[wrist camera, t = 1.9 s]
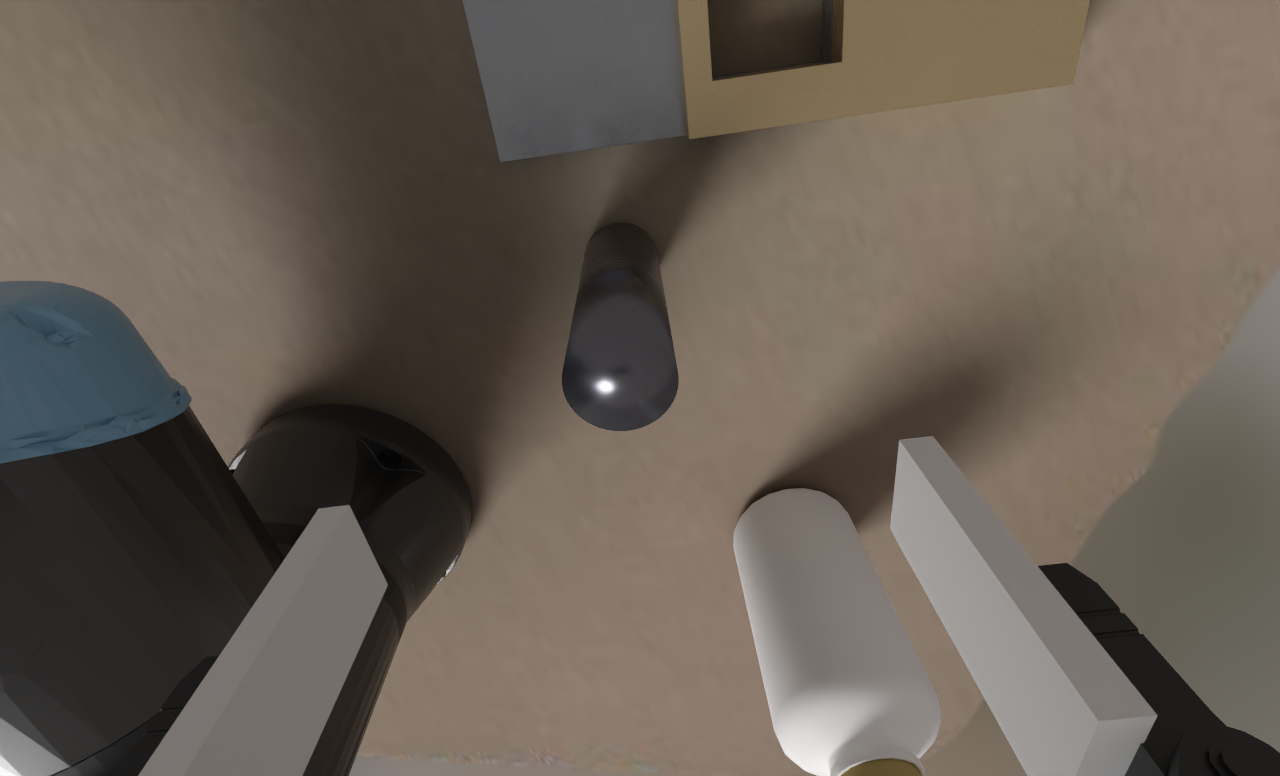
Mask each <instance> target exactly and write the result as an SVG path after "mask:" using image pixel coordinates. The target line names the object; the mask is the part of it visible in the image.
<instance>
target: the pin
mask: <svg viewBox="0 0 1280 776" xmlns="http://www.w3.org/2000/svg"><path fill="white" fill-rule="evenodd" d="M562 386H563V391H564V395H565V397H566V399H567V402H568V403H569V405H570V406H571V408H572V409H573V410H574V411H575V412H576V414H578V415H579V416H580V417H581V418H582V419H584V420H585V421H587V422H588V423H590V424H592V425H594V426H597V427H599V428H603V429H607V430H613V431H628V430H634V429H638V428H641V427H644V426H646V425H649V424H650V423H652V422H654V421H656V420H657V419H658V418H660V417H661V416H662V415H663V414H664V413H665V412H666V411H667V410H668V408H669V407H670V406H671V404H672V402H673V401H674V398H675V396H676V393H677V389H678V371H677V365H676V359H675V353H674V348H673V342H672V336H671V330H670V324H669V318H668V313H667V307H666V301H665V295H664V289H663V284H662V278H661V272H660V266H659V260H658V255H657V250H656V247H655V244H654V242H653V240H652V239H651V237H650V236H649V235H648V234H647V233H646V232H645V231H644V230H642V229H641V228H639V227H637V226H635V225H632V224H627V223H615V224H610V225H607V226H605V227H603V228H601V229H600V230H599V231H597V232H596V233H595V234H594V235H593V237H592V238H591V239H590V241H589V243H588V245H587V248H586V252H585V257H584V262H583V268H582V273H581V278H580V283H579V288H578V294H577V299H576V304H575V309H574V315H573V320H572V325H571V330H570V336H569V341H568V346H567V351H566V357H565V362H564V367H563V373H562Z"/></svg>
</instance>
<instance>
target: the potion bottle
mask: <svg viewBox="0 0 1280 776" xmlns="http://www.w3.org/2000/svg"><path fill="white" fill-rule="evenodd" d="M733 548H734V552H735V557H736V561H737V566H738V570H739V574H740V579H741V583H742V588H743V592H744V597H745V601H746V606H747V610H748V615H749V619H750V624H751V628H752V633H753V637H754V642H755V646H756V651H757V655H758V660H759V664H760V669H761V673H762V678H763V682H764V687H765V691H766V695H767V700H768V704H769V709H770V713H771V718H772V722H773V727H774V731H775V733H776V736H777V738H778V740H779V742H780V744H781V746H782V749H783V751H784V753H785V755H787V756H788V757H789V758H790V759H791V760H792V761H793V762H795V763H796V764H797V765H798V766H800V767H801V768H802V769H803V770H805V771H807V772H809V773H812V774H815V775H817V776H925V772H924V768H923V766H922V764H921V762H920V761H919V758H920V757H921V756H922V755H923V754H924V753H925V752H926V751H927V750H928V749H929V747H930V746H931V745H932V744H933V743H934V742H935V739H936V736H937V733H938V730H939V727H940V723H941V719H942V716H941V711H940V707H939V702H938V698H937V694H936V691H935V689H934V687H933V685H932V683H931V681H930V679H929V677H928V675H927V673H926V671H925V669H924V667H923V665H922V663H921V661H920V659H919V657H918V655H917V653H916V650H915V648H914V646H913V644H912V642H911V640H910V638H909V636H908V634H907V632H906V630H905V628H904V626H903V624H902V622H901V620H900V618H899V616H898V614H897V612H896V610H895V608H894V606H893V604H892V602H891V600H890V598H889V595H888V593H887V591H886V589H885V587H884V585H883V583H882V581H881V579H880V577H879V575H878V573H877V571H876V569H875V567H874V565H873V563H872V561H871V559H870V557H869V555H868V553H867V551H866V549H865V547H864V545H863V543H862V541H861V538H860V536H859V534H858V532H857V530H856V528H855V526H854V524H853V522H852V520H851V518H850V516H849V514H848V513H847V511H846V510H845V509H844V508H843V507H842V505H841V504H840V503H839V502H838V501H837V500H836V499H834V498H832V497H830V496H829V495H827V494H825V493H823V492H821V491H816V490H811V489H806V488H795V489H784V490H781V491H777V492H774V493H771V494H768V495H766V496H764V497H763V498H761V499H759V500H758V501H756V502H754V503H753V504H752V505H751V506H750V507H749V508H748V509H747V510H746V511H745V512H744V513H743V514H742V515H741V517H740V519H739V521H738V523H737V525H736V527H735V530H734V543H733Z"/></svg>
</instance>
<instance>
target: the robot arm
mask: <svg viewBox="0 0 1280 776" xmlns="http://www.w3.org/2000/svg"><path fill="white" fill-rule="evenodd" d="M190 402H191V396H190V395H189V393H188V391H187V390H186V388H185V387H184V386H182V385H180V384H179V383H178V381H176V380H175V379H173V378H171V377H170V376H169V374H168V373H167V371H166V370H165V369H164V367H163V366H162V364H161V363H160V362H159V360H158V359H157V357H156V356H155V355H154V353H153V352H152V350H151V349H150V348H149V346H148V345H147V343H146V342H145V341H144V339H143V338H142V336H141V335H140V334H139V332H138V331H137V329H136V328H135V327H134V325H133V324H132V322H131V321H130V320H129V318H128V317H127V316H126V315H125V314H124V313H123V312H122V311H121V310H120V309H119V308H118V307H117V306H115V305H114V304H113V303H112V302H110V301H109V300H107V299H105V298H103V297H102V296H100V295H98V294H96V293H93V292H91V291H88V290H85V289H83V288H80V287H76V286H71V285H67V284H63V283H55V282H45V281H5V282H0V776H349V773H350V771H351V768H352V765H353V763H354V760H355V758H356V755H357V752H358V750H359V747H360V744H361V742H362V739H363V736H364V734H365V731H366V728H367V726H368V723H369V720H370V718H371V715H372V712H373V710H374V707H375V704H376V702H377V699H378V697H379V694H380V691H381V689H382V686H383V683H384V681H385V678H386V675H387V673H388V670H389V667H390V665H391V662H392V659H393V657H394V654H395V651H396V649H397V646H398V643H399V641H400V638H401V636H402V633H403V630H404V627H405V625H406V623H407V621H408V620H409V619H410V617H411V616H412V615H413V614H414V612H415V611H416V610H417V609H418V607H419V606H420V605H421V604H422V602H423V601H424V600H425V599H426V597H427V596H428V595H429V594H430V592H431V591H432V590H433V589H434V587H435V586H436V585H438V584H439V583H440V582H441V581H442V580H443V579H444V578H445V577H446V576H447V575H448V573H449V572H450V571H451V570H452V568H453V567H454V566H455V564H456V562H457V560H458V558H459V557H460V555H461V552H462V550H463V547H464V544H465V541H466V538H467V535H468V532H469V528H470V525H471V519H472V503H471V497H470V493H469V490H468V487H467V484H466V482H465V480H464V478H463V475H462V474H461V472H460V470H459V469H458V467H457V466H456V464H455V463H454V462H453V460H452V459H451V458H450V457H449V456H448V455H447V453H446V452H445V451H444V450H443V449H442V448H441V447H440V446H438V445H437V444H436V443H435V442H434V441H433V440H431V439H430V438H429V437H427V436H426V435H425V434H423V433H422V432H420V431H418V430H417V429H415V428H414V427H412V426H410V425H408V424H406V423H404V422H402V421H400V420H398V419H395V418H393V417H390V416H388V415H385V414H382V413H379V412H375V411H372V410H368V409H363V408H357V407H351V406H338V405H326V406H314V407H308V408H303V409H298V410H295V411H292V412H289V413H286V414H284V415H281V416H279V417H277V418H276V419H274V420H272V421H271V422H269V423H267V424H266V425H265V426H264V427H262V428H261V429H260V430H259V431H258V432H257V433H256V434H255V435H254V436H253V437H252V438H251V439H250V440H249V441H248V442H247V443H246V444H245V445H244V446H243V447H242V448H241V450H240V451H239V452H238V453H237V454H236V456H235V457H234V458H233V460H232V461H231V463H230V465H229V466H228V467H227V465H226V464H225V462H224V461H223V459H222V457H221V456H220V454H219V453H218V451H217V449H216V448H215V446H214V445H213V443H212V441H211V440H210V438H209V437H208V435H207V433H206V432H205V430H204V429H203V427H202V425H201V424H200V422H199V421H198V419H197V417H196V416H195V414H194V413H193V411H192V410H191V408H190V406H189V404H190ZM890 530H891V531H892V533H893V535H894V537H895V539H896V540H897V542H898V544H899V546H900V547H901V549H902V551H903V553H904V555H905V556H906V558H907V560H908V562H909V564H910V565H911V567H912V569H913V571H914V573H915V574H916V576H917V578H918V580H919V582H920V583H921V585H922V587H923V589H924V591H925V592H926V594H927V596H928V598H929V600H930V601H931V603H932V605H933V607H934V609H935V610H936V612H937V614H938V616H939V618H940V619H941V621H942V623H943V625H944V626H945V628H946V630H947V632H948V634H949V635H950V637H951V639H952V641H953V643H954V644H955V646H956V648H957V650H958V652H959V653H960V655H961V657H962V659H963V661H964V662H965V664H966V666H967V668H968V670H969V671H970V673H971V675H972V677H973V679H974V680H975V682H976V684H977V686H978V688H979V689H980V691H981V693H982V695H983V697H984V698H985V700H986V702H987V704H988V705H989V707H990V709H991V711H992V713H993V714H994V716H995V718H996V720H997V722H998V723H999V725H1000V727H1001V729H1002V730H1003V732H1004V734H1005V736H1006V738H1007V740H1008V741H1009V743H1010V745H1011V747H1012V749H1013V750H1014V752H1015V754H1016V756H1017V758H1018V759H1019V761H1020V763H1021V765H1022V766H1023V768H1024V770H1025V772H1026V774H1027V775H1028V776H1280V753H1279V752H1278V751H1276V750H1275V749H1274V748H1273V747H1271V746H1270V745H1268V744H1266V743H1265V742H1263V741H1261V740H1259V739H1257V738H1255V737H1253V736H1251V735H1250V734H1247V733H1246V732H1243V731H1241V730H1237V729H1234V728H1230V727H1227V726H1226V725H1225V724H1224V723H1223V722H1222V721H1221V720H1220V719H1219V718H1218V717H1217V716H1216V715H1215V714H1214V713H1212V711H1211V710H1210V709H1209V708H1208V707H1207V706H1206V705H1205V704H1204V703H1203V701H1202V700H1201V699H1200V698H1199V697H1198V696H1197V695H1196V694H1195V692H1194V691H1193V690H1192V689H1191V688H1190V687H1189V686H1188V684H1187V683H1186V682H1185V681H1184V680H1183V679H1182V678H1181V677H1180V675H1179V674H1178V673H1177V672H1176V671H1175V670H1174V669H1173V668H1172V667H1171V665H1170V664H1169V663H1168V662H1167V661H1166V660H1165V659H1164V657H1163V656H1162V655H1161V654H1160V653H1159V652H1158V651H1157V650H1156V649H1155V647H1154V646H1153V645H1152V644H1151V643H1150V642H1149V641H1148V640H1147V638H1146V637H1145V636H1144V635H1143V634H1139V632H1138V628H1137V627H1136V626H1135V625H1134V624H1133V623H1132V622H1131V621H1130V619H1129V618H1128V617H1127V616H1126V615H1125V614H1124V613H1123V614H1122V613H1121V612H1120V610H1119V609H1120V608H1119V607H1118V606H1117V605H1116V604H1115V603H1114V601H1113V600H1112V599H1111V598H1110V597H1109V596H1108V595H1107V594H1106V593H1105V591H1104V590H1103V589H1102V588H1101V587H1100V586H1099V585H1098V583H1096V582H1095V581H1093V580H1092V579H1090V578H1089V577H1087V576H1086V575H1084V574H1083V573H1081V572H1080V571H1078V570H1077V569H1075V568H1074V567H1072V566H1071V565H1069V564H1068V563H1061V564H1052V565H1043V566H1037V565H1036V564H1035V562H1034V561H1033V560H1032V559H1031V557H1030V556H1029V555H1028V554H1027V552H1026V551H1025V550H1024V549H1023V547H1022V546H1021V545H1020V544H1019V542H1018V541H1017V540H1016V539H1015V538H1014V536H1013V535H1012V534H1011V533H1010V531H1009V530H1008V529H1007V528H1006V526H1005V525H1004V524H1003V523H1002V521H1001V520H1000V519H999V518H998V516H997V515H996V514H995V513H994V511H993V510H992V509H991V508H990V506H989V505H988V504H987V503H986V501H985V500H984V499H983V498H982V496H981V495H980V494H979V493H978V492H977V490H976V489H975V488H974V487H973V485H972V484H971V483H970V482H969V480H968V479H967V478H966V477H965V475H964V474H963V473H962V472H961V470H960V469H959V468H958V467H957V465H956V464H955V463H954V462H953V460H952V459H951V458H950V457H949V455H948V454H947V453H946V452H945V450H944V449H943V448H942V447H941V446H940V444H939V443H938V442H937V441H936V439H935V438H934V437H933V436H928V437H919V438H911V439H902V440H899V447H898V456H897V466H896V476H895V486H894V496H893V505H892V515H891V525H890Z"/></svg>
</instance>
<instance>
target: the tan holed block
mask: <svg viewBox="0 0 1280 776" xmlns="http://www.w3.org/2000/svg"><path fill="white" fill-rule="evenodd" d="M462 1H463V5H464V9H465V14H466V18H467V22H468V26H469V31H470V35H471V39H472V44H473V48H474V52H475V56H476V61H477V65H478V69H479V73H480V78H481V82H482V86H483V91H484V95H485V99H486V103H487V108H488V112H489V116H490V120H491V125H492V129H493V133H494V138H495V142H496V146H497V150H498V155H499V159H500V162H506V161H513V160H520V159H527V158H534V157H540V156H547V155H554V154H561V153H568V152H575V151H582V150H589V149H596V148H603V147H610V146H616V145H623V144H630V143H637V142H644V141H651V140H658V139H665V138H672V137H679V136H687V137H688V138H689V139H695V138H702V137H709V136H716V135H723V134H730V133H737V132H744V131H751V130H758V129H764V128H771V127H778V126H785V125H792V124H799V123H806V122H813V121H820V120H827V119H834V118H841V117H848V116H855V115H861V114H868V113H875V112H882V111H889V110H896V109H903V108H910V107H917V106H924V105H931V104H938V103H945V102H952V101H959V100H965V99H972V98H979V97H986V96H993V95H1000V94H1007V93H1014V92H1021V91H1028V90H1035V89H1042V88H1049V87H1056V86H1062V85H1069V84H1073V82H1074V77H1075V72H1076V67H1077V63H1078V58H1079V53H1080V48H1081V43H1082V38H1083V33H1084V28H1085V23H1086V18H1087V13H1088V9H1089V4H1090V0H823V20H822V61H820V62H814V63H807V64H800V65H793V66H787V67H780V68H773V69H767V70H760V71H753V72H746V73H740V74H733V75H726V76H719V77H713V78H712V68H711V52H710V36H709V20H708V4H707V0H462Z"/></svg>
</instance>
